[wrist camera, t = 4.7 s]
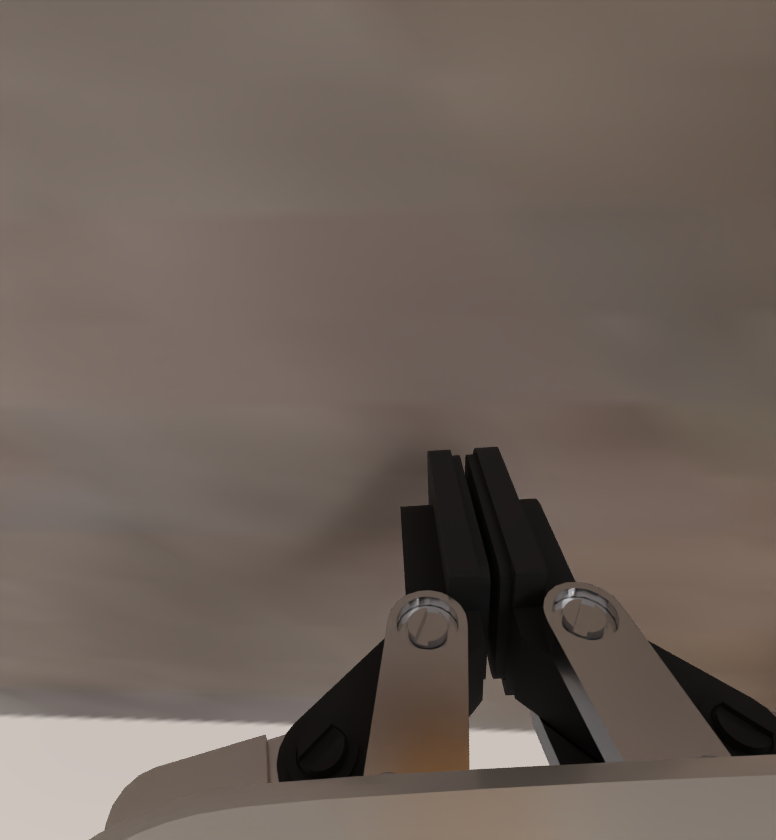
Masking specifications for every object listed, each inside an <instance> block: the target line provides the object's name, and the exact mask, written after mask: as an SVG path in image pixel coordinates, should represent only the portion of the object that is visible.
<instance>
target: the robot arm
mask: <svg viewBox="0 0 776 840" xmlns="http://www.w3.org/2000/svg"><path fill="white" fill-rule="evenodd" d="M427 459H428V494H429V505H422V506H406V507H401V524H402V540H403V556H404V572H405V589H406V596H404V597H403V598H401V599H400V600H399V601H398V602H397V603H396V604H395V605H394V607H393V608H392V609H391V612H390V615H389V617H388V622H387V628H386V635H385V639H384V640H382V641H381V642H380V643H379V644H378V645H377V646H376V647H375V648H374V649H373V650H372V651H371V652H370V653H369V654H368V655H367V656H365V657H364V658H363V659H362V660H361V661H360V662H359V663H358V664H357V665H356V666H355V667H354V668H353V669H352V670H351V671H350V672H348V673H347V674H346V675H345V676H344V677H343V678H342V679H341V680H340V681H339V682H338V683H337V684H336V685H335V686H334V687H333V688H332V689H330V690H329V691H328V692H327V693H326V694H325V695H324V696H323V697H322V698H321V699H320V700H319V701H318V702H317V703H316V704H315V705H313V706H312V707H311V708H310V709H309V710H308V711H307V712H306V713H305V714H304V715H303V716H302V717H301V718H300V719H299V720H298V721H296V722H295V724H294V725H293V726H292V727H291V728H290V730H289V731H288V732H287V734H286V735H283V736H280V737H276V738H273V739H270V740H267V738H266V735H263V736H259V737H256V738H252V739H249V740H246V741H243V742H239V743H236V744H232V745H230V746H226V747H222V748H219V749H216V750H212V751H209V752H206V753H203V754H199V755H196V756H192V757H189V758H186V759H182V760H179V761H176V762H172V763H169V764H166V765H162V766H159V767H156V768H153V769H151V770H149V771H147V772H145V773H143V774H141V775H139V776H138V777H137V778H136V779H134V780H133V781H132V782H131V783H130V784H129V785H128V786H127V787H125V789H124V790H123V791H122V793H121V794H120V796H119V797H118V798H117V800H116V801H115V803H114V804H113V806H112V809H111V811H110V814H109V817H108V820H107V822H106V826H105V830H104V831H103V832H101V833H99V834H97V835H96V836H94V837H93V838H91V839H90V840H776V713H775V712H770V711H769V710H768V709H767V708H766V707H764V706H763V705H761V704H760V703H758V702H757V701H755V700H754V699H752V698H751V697H749V696H747V695H745V694H743V693H742V692H740V691H738V690H736V689H734V688H733V687H731V686H729V685H727V684H725V683H723V682H722V681H720V680H718V679H716V678H714V677H713V676H711V675H709V674H707V673H705V672H704V671H702V670H700V669H698V668H696V667H695V666H693V665H691V664H689V663H687V662H685V661H684V660H682V659H680V658H678V657H676V656H675V655H673V654H671V653H669V652H667V651H666V650H664V649H662V648H660V647H658V646H657V645H655V644H653V643H651V642H649V641H648V640H647V639H646V638H645V636H644V635H643V633H642V632H641V631H640V629H639V628H638V627H637V625H636V624H635V622H634V621H633V620H632V618H631V617H630V616H629V614H628V613H627V611H626V610H625V609H624V607H623V606H622V605H621V604H620V603H619V602H618V600H617V599H616V598H615V597H614V596H612V595H611V594H609V593H608V592H606V591H605V590H603V589H601V588H599V587H596V586H594V585H591V584H587V583H581V582H575V580H574V578H573V576H572V573H571V571H570V569H569V567H568V565H567V562H566V560H565V558H564V556H563V553H562V551H561V549H560V547H559V545H558V542H557V540H556V538H555V536H554V534H553V531H552V529H551V527H550V525H549V523H548V520H547V518H546V516H545V514H544V512H543V509H542V507H541V505H540V503H539V502H538V500H537V499H522V500H519V499H518V496H517V493H516V491H515V488H514V486H513V483H512V481H511V478H510V476H509V473H508V471H507V468H506V466H505V463H504V461H503V458H502V456H501V453H500V451H499V449H498V447H487V448H474V451H473V454H470V455H466V457H465V474H464V470H463V466H462V462H461V458H460V456H459V455H454V456H452V454H451V451H450V450H439V451H428V454H427ZM487 656H488V661H489V666H490V670H491V674H492V677H493V679H498V678H502V683H503V687H504V691H505V695H514V696H515V699H517V700H518V701H519V702H521V703H522V704H523V705H525V706H526V707H527V708H529V709H530V716H531V720H532V724H533V726H534V729H535V731H536V733H537V736H538V738H539V740H540V743H541V745H542V748H543V750H544V752H545V755H546V757H547V760H548V762H549V764H550V766H533V767H515V768H496V769H477V770H469V716H470V715H471V714H472V713H473V711H474V710H475V709H476V708H477V706H478V705H479V704H480V702H481V701H482V696H483V679H485V678H486V662H487Z"/></svg>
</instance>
